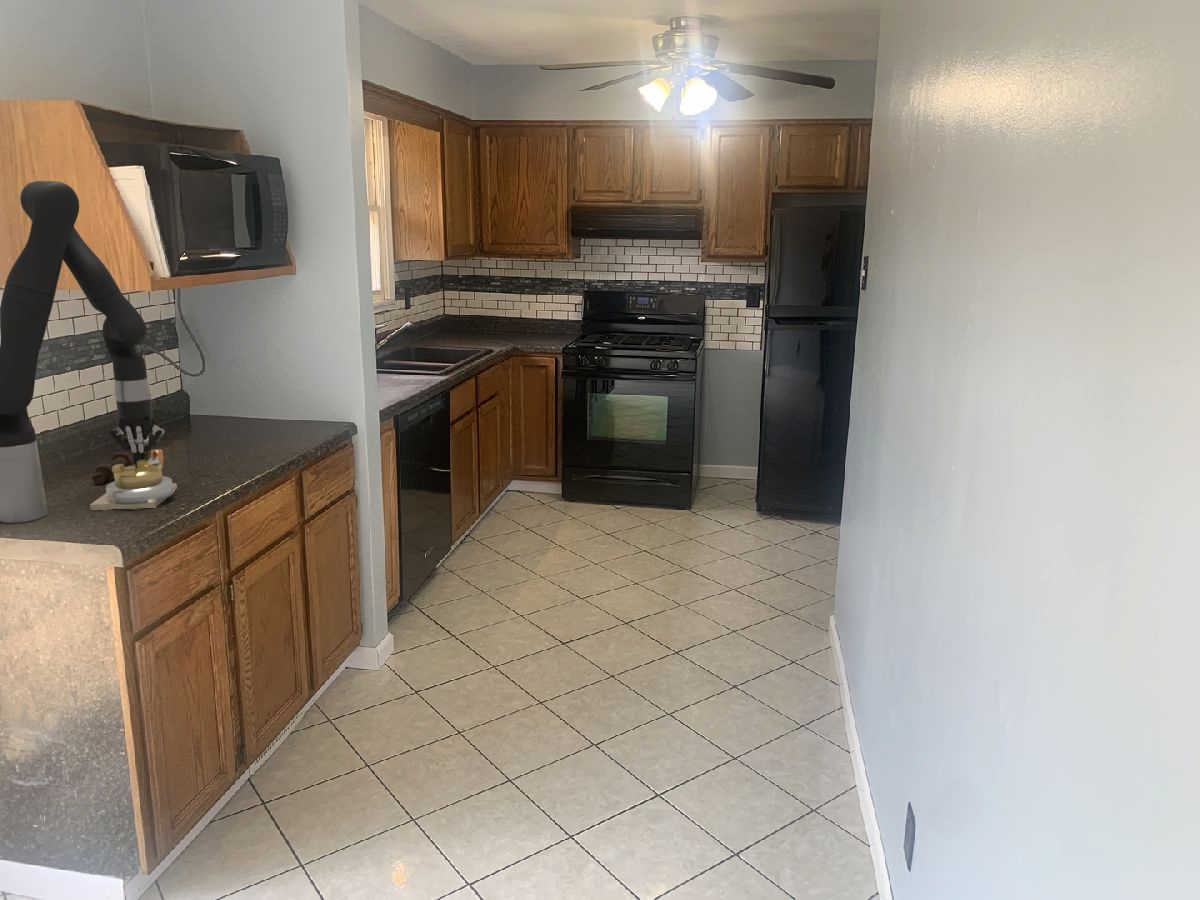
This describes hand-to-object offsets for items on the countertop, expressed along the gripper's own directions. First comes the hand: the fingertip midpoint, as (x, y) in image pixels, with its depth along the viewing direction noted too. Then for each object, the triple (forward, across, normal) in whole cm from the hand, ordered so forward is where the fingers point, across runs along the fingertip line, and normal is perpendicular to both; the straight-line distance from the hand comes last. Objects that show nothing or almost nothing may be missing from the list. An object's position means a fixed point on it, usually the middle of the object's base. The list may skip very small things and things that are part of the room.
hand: (142, 466), depth 221 cm
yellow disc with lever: (+1, +3, -5) cm, 6 cm away
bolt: (+6, -14, +12) cm, 19 cm away
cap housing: (+6, +2, -8) cm, 11 cm away
